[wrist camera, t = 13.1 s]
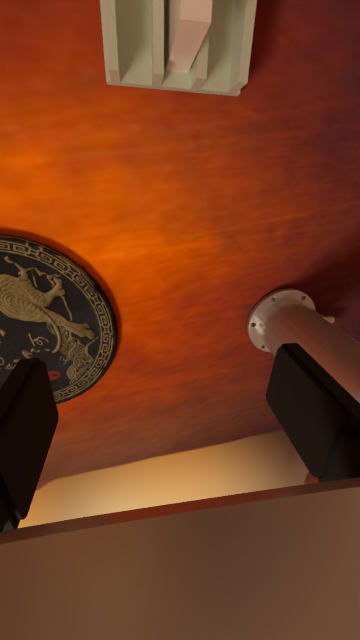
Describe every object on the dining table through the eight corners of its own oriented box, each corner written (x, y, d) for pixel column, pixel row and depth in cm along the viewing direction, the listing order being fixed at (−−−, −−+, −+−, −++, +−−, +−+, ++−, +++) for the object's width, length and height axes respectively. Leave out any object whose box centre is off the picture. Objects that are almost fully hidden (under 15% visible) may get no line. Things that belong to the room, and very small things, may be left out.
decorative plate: (119, 404, 49) (-63, 415, 43) (120, 397, 50) (-56, 406, 45) (113, 240, 35) (-152, 227, 30) (114, 238, 37) (-136, 225, 32)
